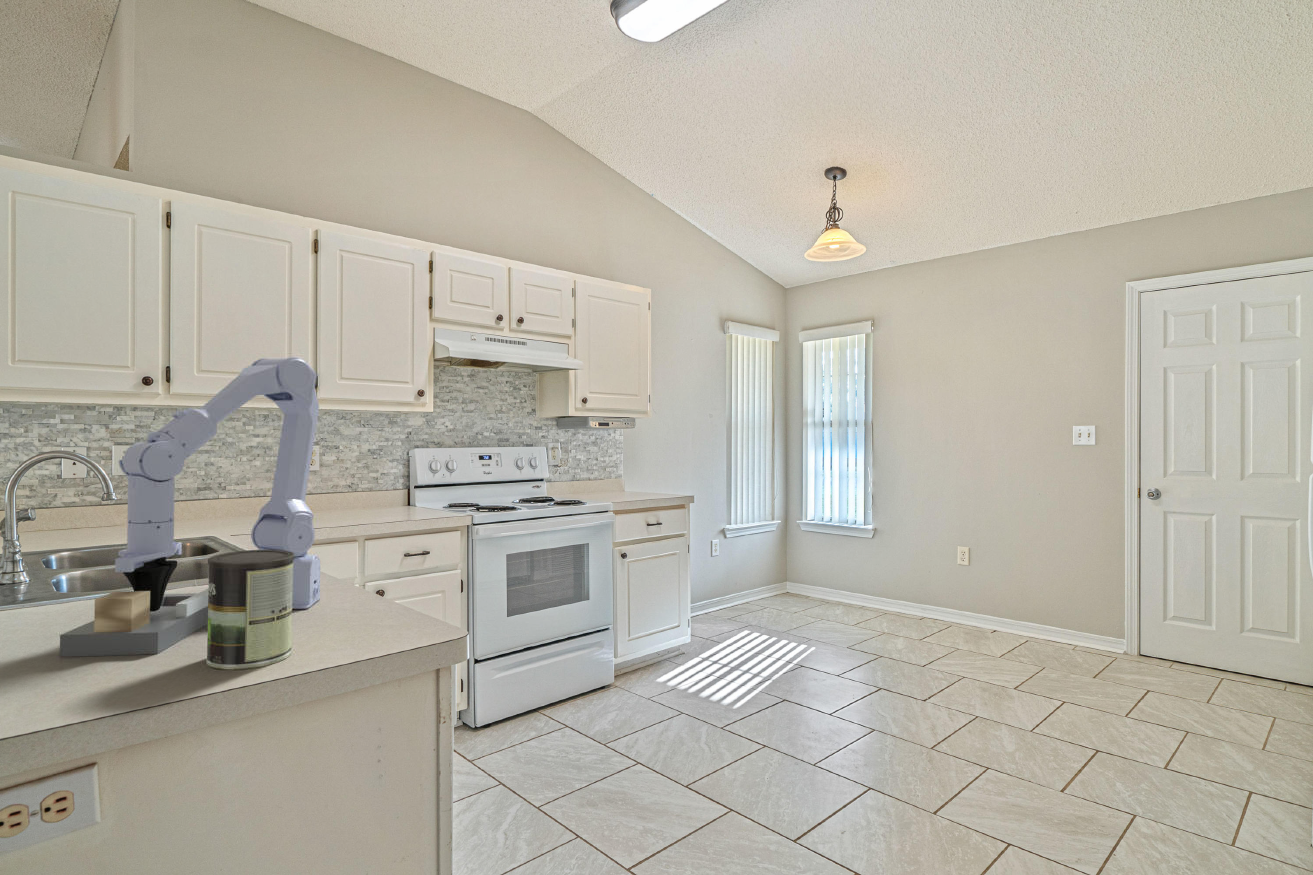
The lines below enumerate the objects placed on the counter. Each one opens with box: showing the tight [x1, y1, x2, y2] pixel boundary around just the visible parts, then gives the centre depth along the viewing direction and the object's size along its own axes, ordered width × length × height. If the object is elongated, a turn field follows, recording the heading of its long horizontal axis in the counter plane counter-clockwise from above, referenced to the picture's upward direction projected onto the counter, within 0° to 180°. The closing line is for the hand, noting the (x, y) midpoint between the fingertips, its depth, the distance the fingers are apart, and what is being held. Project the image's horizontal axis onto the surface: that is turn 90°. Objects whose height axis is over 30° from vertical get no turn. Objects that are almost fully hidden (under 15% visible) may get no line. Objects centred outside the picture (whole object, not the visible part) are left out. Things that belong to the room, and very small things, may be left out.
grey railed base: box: [59, 587, 209, 658], centre depth 107 cm, size 12×24×5 cm, turn 10°
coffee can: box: [205, 549, 294, 671], centre depth 95 cm, size 10×10×14 cm
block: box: [93, 590, 150, 632], centre depth 98 cm, size 5×5×5 cm
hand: (150, 610), depth 105 cm, fingers closed
